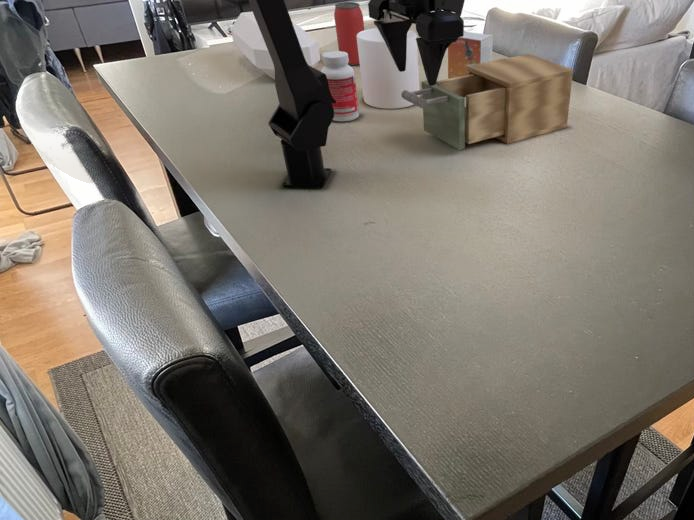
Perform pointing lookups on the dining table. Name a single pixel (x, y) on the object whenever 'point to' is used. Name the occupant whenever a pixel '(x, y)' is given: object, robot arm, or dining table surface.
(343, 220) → the dining table surface
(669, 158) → the dining table surface
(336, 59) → the pill bottle
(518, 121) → the cabinet
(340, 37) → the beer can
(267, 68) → the crystal
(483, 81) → the drawer
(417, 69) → the cup
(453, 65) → the small box
